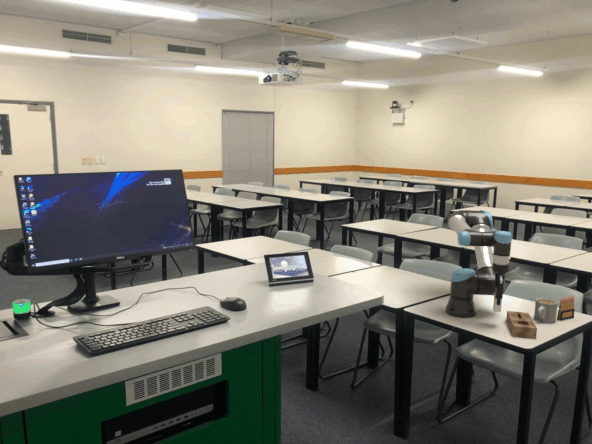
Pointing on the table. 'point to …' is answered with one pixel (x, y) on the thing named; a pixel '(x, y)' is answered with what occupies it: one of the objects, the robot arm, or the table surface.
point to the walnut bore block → (521, 324)
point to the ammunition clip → (566, 308)
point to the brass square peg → (494, 300)
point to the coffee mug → (545, 310)
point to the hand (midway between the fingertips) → (497, 309)
